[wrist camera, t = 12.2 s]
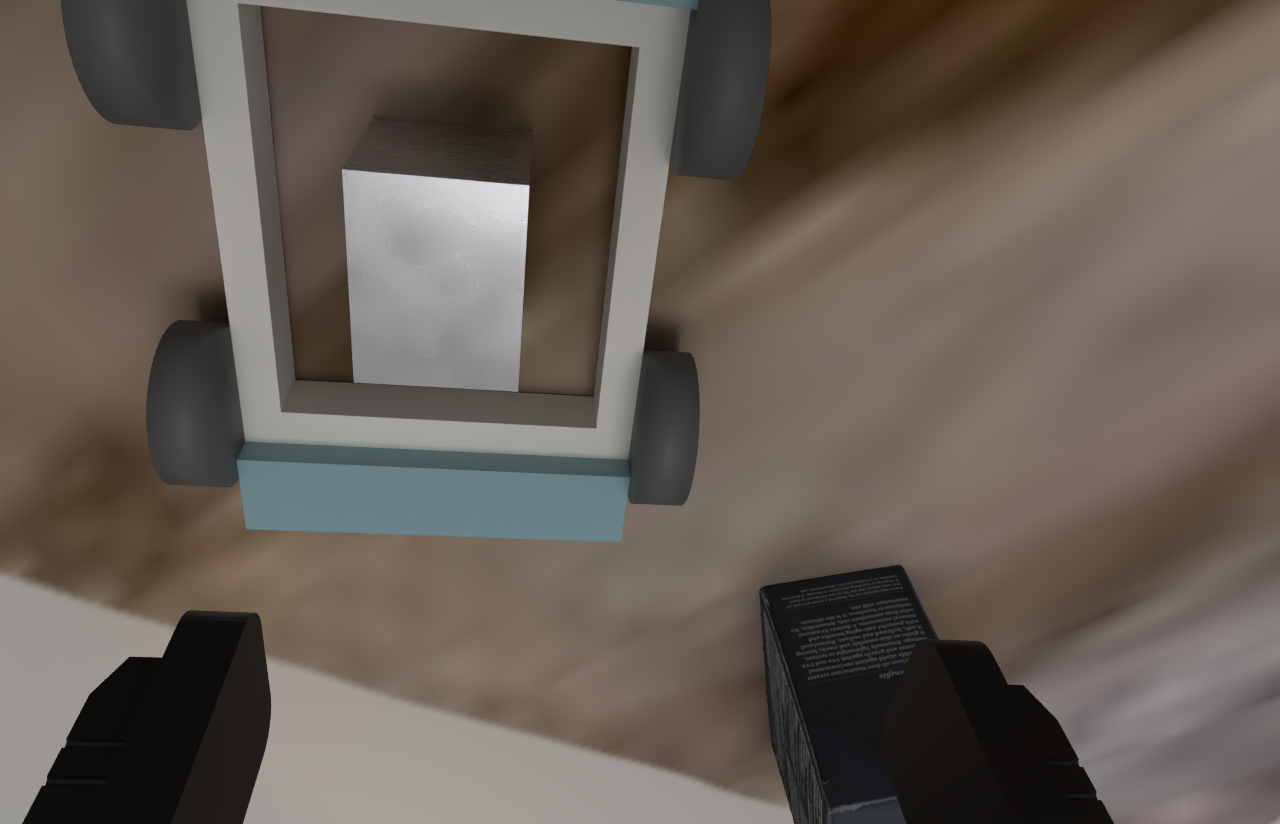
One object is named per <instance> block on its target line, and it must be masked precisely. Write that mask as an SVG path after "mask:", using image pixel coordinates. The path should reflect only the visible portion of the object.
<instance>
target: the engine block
mask: <svg viewBox="0 0 1280 824" xmlns="http://www.w3.org/2000/svg"><path fill="white" fill-rule="evenodd" d="M531 143H532V130H524V129H513V128H503V127H492V126H481V125H471V124H460V123H450V122H439V121H429V120H418V119H408V118H397V117H387V116H376V115H374V116H373V118H372V120H371V121H370V123H369V125H368V126H367V128H366V130H365V132H364V133H363V135H362V137H361V138H360V140H359V142H358V143H357V145H356V147H355V148H354V150H353V152H352V153H351V155H350V157H349V159H348V160H347V162H346V164H345V165H344V167H343V169H342V177H343V195H344V213H345V231H346V249H347V267H348V285H349V304H350V322H351V340H352V358H353V376H354V383H371V384H389V385H407V386H424V387H442V388H460V389H478V390H496V391H513V392H518V383H519V365H520V347H521V330H522V312H523V294H524V276H525V258H526V240H527V222H528V204H529V187H530V165H531Z"/></svg>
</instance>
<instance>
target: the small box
mask: <svg viewBox="0 0 1280 824" xmlns="http://www.w3.org/2000/svg"><path fill="white" fill-rule="evenodd" d="M760 600H761V617H762V631H763V643H764V646H763V650H764V657H765V668H766V681H767V691H766V692H767V696H768V699H767V701H768V709H769V720H770V728H771V737H772V748H773V750H774V754H775V757H776V760H777V764H778V769H779V772H780V775H781V778H782V781H783V785H784V789H785V792H786V795H787V798H788V802H789V806H790V810H791V813H792V816H793V820H794V824H906V822H905V819H904V816H903V813H902V810H901V807H900V804H899V801H898V799H897V796H896V793H895V790H894V787H893V784H892V781H891V778H890V775H889V772H888V769H887V766H886V763H885V759H884V754H883V745H882V728H883V721H884V717H885V714H886V711H887V709H888V706H889V704H890V702H891V699H892V697H893V695H894V692H895V690H896V688H897V685H898V683H899V681H900V678H901V676H902V674H903V672H904V669H905V667H906V665H907V662H908V660H909V658H910V655H911V653H912V651H913V648H914V647H915V645H916V644H917V642H919V641H920V640H922V639H936V640H939V639H938V637H937V635H936V633H935V631H934V629H933V627H932V625H931V623H930V621H929V619H928V617H927V615H926V613H925V611H924V609H923V607H922V604H921V602H920V600H919V598H918V596H917V594H916V592H915V590H914V588H913V586H912V584H911V582H910V580H909V578H908V576H907V574H906V572H905V570H904V568H903V567H902V566H893V567H887V568H881V569H873V570H868V571H861V572H855V573H849V574H842V575H836V576H830V577H823V578H817V579H812V580H806V581H799V582H793V583H786V584H780V585H774V586H769V587H765V588H763V589H761V591H760Z"/></svg>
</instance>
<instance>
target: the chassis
mask: <svg viewBox="0 0 1280 824" xmlns="http://www.w3.org/2000/svg"><path fill="white" fill-rule="evenodd" d="M260 6H269V7H278V8H287V9H296V10H305V11H314V12H323V13H332V14H342V15H351V16H360V17H369V18H378V19H387V20H396V21H405V22H414V23H423V24H432V25H441V26H450V27H459V28H468V29H477V30H486V31H496V32H505V33H514V34H523V35H532V36H541V37H550V38H559V39H568V40H577V41H586V42H595V43H604V44H613V45H622V46H631V47H632V51H631V60H630V69H629V78H628V87H627V96H626V105H625V114H624V124H623V133H622V142H621V151H620V160H619V169H618V178H617V188H616V197H615V206H614V215H613V224H612V233H611V242H610V251H609V261H608V270H607V279H606V288H605V297H604V306H603V315H602V324H601V334H600V343H599V352H598V361H597V370H596V379H595V388H594V397H589V396H572V395H554V394H536V393H519V392H501V391H483V390H466V389H448V388H430V387H413V386H395V385H377V384H360V383H342V382H324V381H307V380H295V370H294V359H293V349H292V338H291V327H290V317H289V306H288V295H287V285H286V274H285V264H284V253H283V242H282V232H281V221H280V210H279V200H278V189H277V179H276V168H275V157H274V147H273V136H272V125H271V115H270V104H269V94H268V83H267V72H266V62H265V51H264V40H263V30H262V19H261V9H260ZM61 8H62V17H63V24H64V29H65V35H66V40H67V44H68V48H69V52H70V56H71V59H72V62H73V66H74V68H75V71H76V74H77V77H78V79H79V81H80V84H81V86H82V88H83V90H84V92H85V94H86V96H87V98H88V99H89V101H90V102H91V104H92V105H93V107H94V108H95V110H96V111H97V112H98V113H99V114H100V115H101V116H102V117H103V118H105V119H106V120H107V121H110V122H112V123H115V124H123V125H134V126H145V127H156V128H167V129H178V130H191V129H193V128H195V127H196V126H197V125H198V124H199V123H200V122H201V120H202V122H203V129H204V137H205V144H206V152H207V159H208V167H209V174H210V182H211V189H212V197H213V204H214V212H215V219H216V227H217V234H218V242H219V249H220V257H221V264H222V271H223V279H224V286H225V294H226V301H227V309H228V316H229V323H220V322H204V321H189V320H178V321H176V322H174V323H173V324H171V325H170V326H169V327H168V329H167V330H166V331H165V333H164V334H163V336H162V338H161V340H160V342H159V345H158V347H157V350H156V353H155V356H154V359H153V363H152V367H151V372H150V377H149V384H148V392H147V406H146V421H147V436H148V443H149V449H150V454H151V458H152V461H153V464H154V467H155V469H156V471H157V473H158V475H159V476H160V478H161V479H162V480H163V481H164V482H165V483H167V484H170V485H188V486H212V487H231V486H233V485H234V484H235V483H236V482H237V481H238V480H239V481H240V488H241V495H242V502H243V510H244V517H245V524H246V529H257V530H286V531H315V532H344V533H373V534H402V535H430V536H459V537H488V538H517V539H546V540H575V541H603V542H621V540H622V533H623V526H624V519H625V512H626V505H627V498H629V501H630V503H632V504H655V505H680V506H681V505H683V504H684V503H685V502H686V500H687V498H688V495H689V492H690V489H691V485H692V481H693V477H694V471H695V465H696V458H697V449H698V437H699V384H698V375H697V369H696V364H695V361H694V358H693V356H692V355H691V353H687V352H671V351H656V350H643V349H644V342H645V335H646V328H647V320H648V313H649V306H650V299H651V292H652V285H653V277H654V270H655V263H656V256H657V249H658V241H659V234H660V227H661V220H662V213H663V206H664V198H665V191H666V184H667V177H668V170H669V163H670V168H671V171H672V173H673V174H674V175H681V176H692V177H703V178H714V179H725V180H736V179H738V178H739V177H740V176H741V174H742V173H743V171H744V170H745V168H746V165H747V163H748V161H749V158H750V156H751V153H752V150H753V147H754V144H755V140H756V137H757V133H758V129H759V125H760V120H761V116H762V111H763V105H764V100H765V94H766V87H767V80H768V71H769V61H770V48H771V8H770V0H61Z"/></svg>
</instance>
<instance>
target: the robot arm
mask: <svg viewBox="0 0 1280 824" xmlns="http://www.w3.org/2000/svg"><path fill="white" fill-rule="evenodd" d="M270 718H271V694H270V688H269V679H268V672H267V664H266V656H265V649H264V641H263V634H262V626H261V620H260V617H259V615H258V614H257V613H248V612H221V611H193V610H190V611H187V612H186V613H185V614H184V615H183V616H182V617H181V619H180V621H179V622H178V624H177V627H176V629H175V631H174V633H173V635H172V637H171V640H170V642H169V644H168V646H167V648H166V651H165V653H164V655H163V657H162V658H153V657H129V658H128V659H127V660H126V661H125V662H124V663H122V665H120V666H119V667H118V668H117V669H116V670H115V671H114V672H113V673H112V674H111V675H110V676H109V677H108V678H107V679H105V680H104V681H103V682H102V683H101V684H100V685H99V686H98V687H97V688H96V689H95V690H94V691H93V692H92V693H91V694H90V695H89V697H88V699H87V700H86V702H85V704H84V706H83V708H82V710H81V712H80V714H79V716H78V718H77V720H76V721H75V723H74V726H73V727H72V729H71V731H70V733H69V735H68V737H67V739H66V740H67V742H66V746H65V748H61V750H60V753H59V754H58V756H57V758H56V760H55V762H54V764H53V766H52V768H51V769H50V771H49V773H48V775H47V782H46V785H45V786H42V787H41V789H40V791H39V793H38V795H37V796H36V798H35V800H34V802H33V804H32V806H31V808H30V810H29V812H28V814H27V816H26V817H25V819H24V822H23V823H22V824H243V821H244V818H245V815H246V811H247V808H248V804H249V802H250V798H251V794H252V792H253V788H254V785H255V782H256V779H257V775H258V772H259V769H260V765H261V762H262V759H263V756H264V752H265V748H266V743H267V739H268V733H269V727H270ZM882 745H883V754H884V759H885V763H886V766H887V769H888V772H889V775H890V778H891V781H892V784H893V787H894V790H895V793H896V796H897V799H898V801H899V804H900V807H901V810H902V813H903V816H904V819H905V822H906V824H1114V823H1113V821H1112V819H1111V817H1110V815H1109V814H1108V812H1107V810H1106V808H1105V806H1104V804H1103V803H1102V801H1101V800H1097V797H1096V790H1095V788H1094V786H1093V784H1092V782H1091V781H1090V779H1089V777H1088V775H1087V773H1086V771H1085V770H1084V768H1083V767H1080V766H1079V764H1078V760H1079V759H1078V757H1077V755H1076V753H1075V751H1074V750H1073V748H1072V746H1071V744H1070V742H1069V740H1068V739H1067V737H1066V735H1065V733H1064V731H1063V729H1062V728H1061V726H1060V724H1059V722H1058V720H1057V719H1056V718H1055V717H1054V716H1053V715H1052V714H1051V713H1050V712H1049V711H1048V710H1047V709H1046V708H1045V707H1044V706H1043V705H1042V704H1041V703H1040V702H1039V701H1038V700H1037V699H1036V698H1035V697H1034V696H1033V695H1032V694H1031V693H1030V692H1029V691H1028V690H1027V689H1026V688H1025V686H1024V685H1008V684H1007V682H1006V680H1005V678H1004V676H1003V674H1002V672H1001V670H1000V668H999V666H998V664H997V662H996V660H995V658H994V656H993V654H992V653H991V651H990V650H989V648H988V647H987V646H986V645H985V644H984V643H982V642H980V641H964V640H936V639H922V640H920V641H919V642H917V644H916V645H915V647H914V648H913V651H912V653H911V655H910V658H909V660H908V662H907V665H906V667H905V669H904V672H903V674H902V676H901V678H900V681H899V683H898V685H897V688H896V690H895V692H894V695H893V697H892V699H891V702H890V704H889V706H888V709H887V711H886V714H885V717H884V721H883V728H882Z"/></svg>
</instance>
